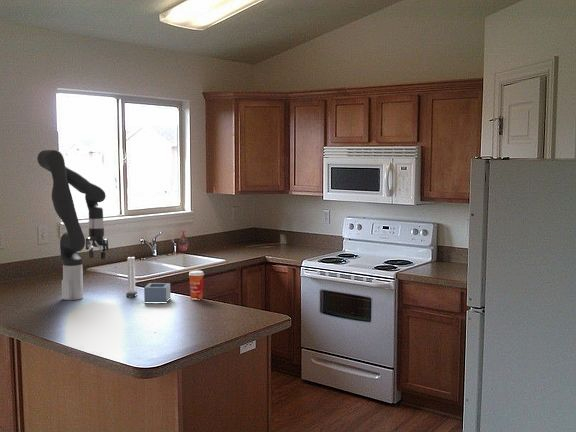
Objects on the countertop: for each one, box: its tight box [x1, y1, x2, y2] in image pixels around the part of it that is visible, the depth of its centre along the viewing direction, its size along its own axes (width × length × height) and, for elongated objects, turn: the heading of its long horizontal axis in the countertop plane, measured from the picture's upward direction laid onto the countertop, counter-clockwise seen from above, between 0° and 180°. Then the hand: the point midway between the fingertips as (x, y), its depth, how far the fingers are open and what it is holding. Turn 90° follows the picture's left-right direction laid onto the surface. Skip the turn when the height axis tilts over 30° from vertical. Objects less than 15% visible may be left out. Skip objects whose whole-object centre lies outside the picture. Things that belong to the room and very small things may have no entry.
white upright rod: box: [126, 256, 138, 296], centre depth 320 cm, size 4×4×20 cm
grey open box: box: [143, 282, 171, 303], centre depth 310 cm, size 11×11×8 cm
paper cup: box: [188, 270, 205, 300], centre depth 315 cm, size 8×8×14 cm
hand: (97, 258), depth 324 cm, fingers open, 8 cm apart
